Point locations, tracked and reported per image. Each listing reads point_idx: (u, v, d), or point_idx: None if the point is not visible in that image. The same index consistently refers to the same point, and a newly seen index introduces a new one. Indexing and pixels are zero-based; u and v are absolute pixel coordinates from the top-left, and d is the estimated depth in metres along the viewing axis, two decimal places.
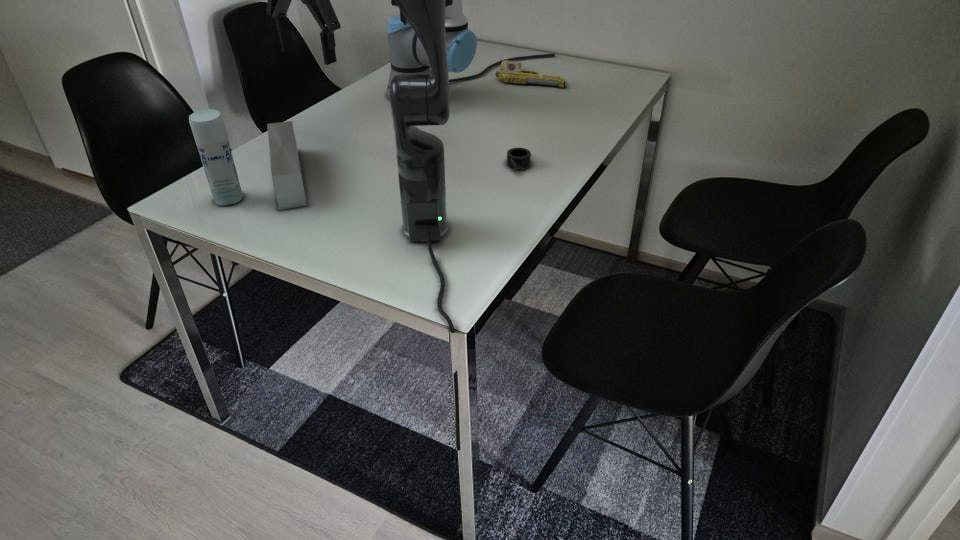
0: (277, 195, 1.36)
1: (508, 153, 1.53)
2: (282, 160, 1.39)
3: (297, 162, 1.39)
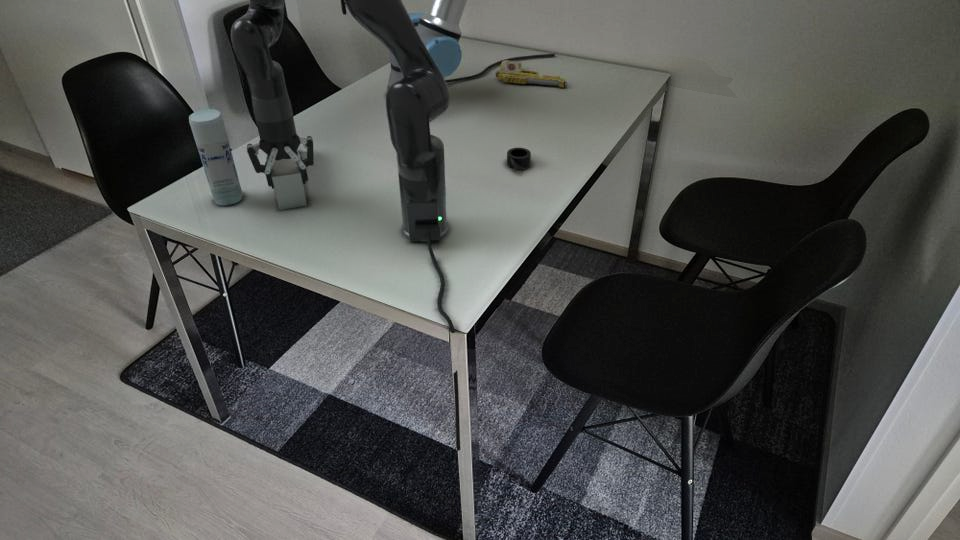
0: (277, 195, 1.36)
1: (508, 153, 1.53)
2: (282, 160, 1.39)
3: None
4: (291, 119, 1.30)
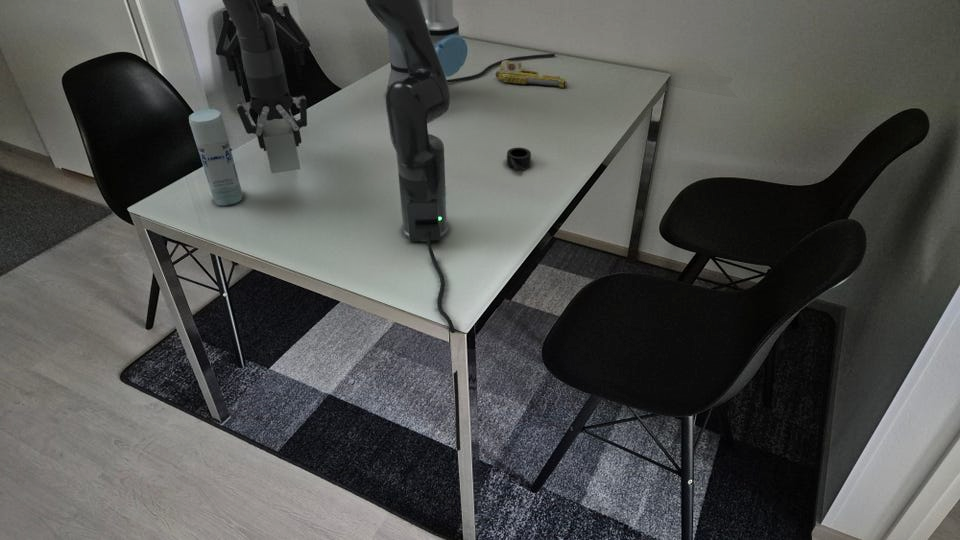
0: (269, 157, 1.31)
1: (508, 153, 1.53)
2: (275, 122, 1.34)
3: None
4: (283, 75, 1.24)
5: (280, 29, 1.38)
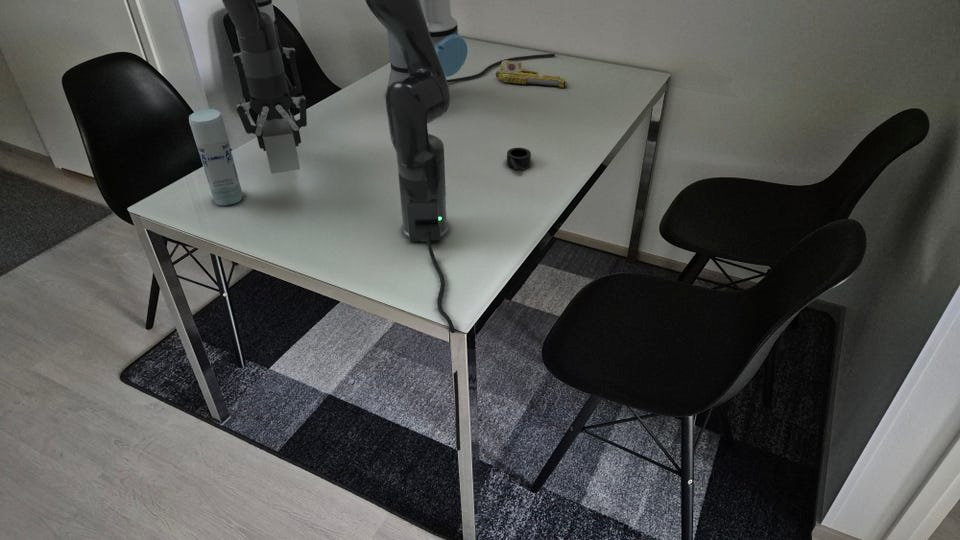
0: (269, 157, 1.31)
1: (508, 153, 1.53)
2: (274, 122, 1.34)
3: None
4: (282, 75, 1.24)
5: None
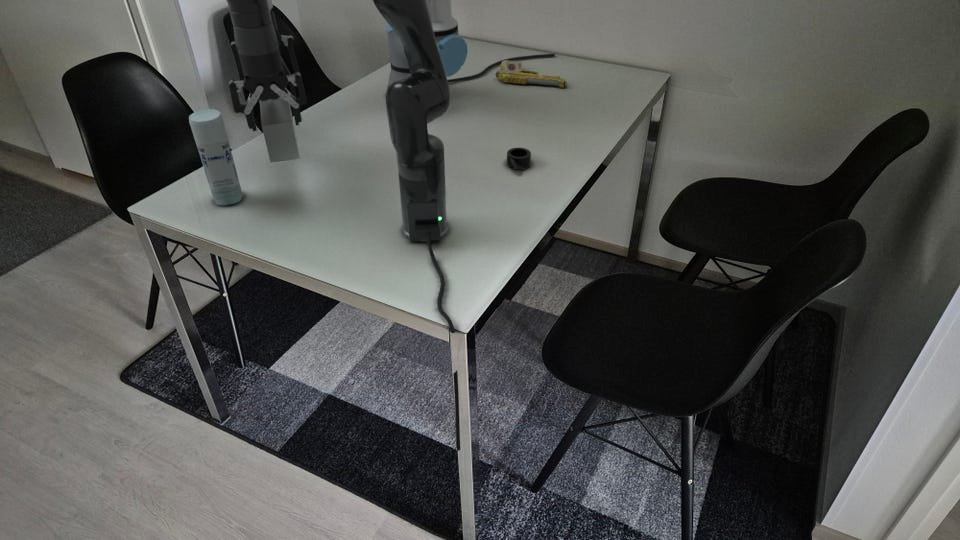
0: (268, 146, 1.29)
1: (508, 153, 1.53)
2: (273, 110, 1.32)
3: (288, 112, 1.32)
4: (277, 53, 1.20)
5: None
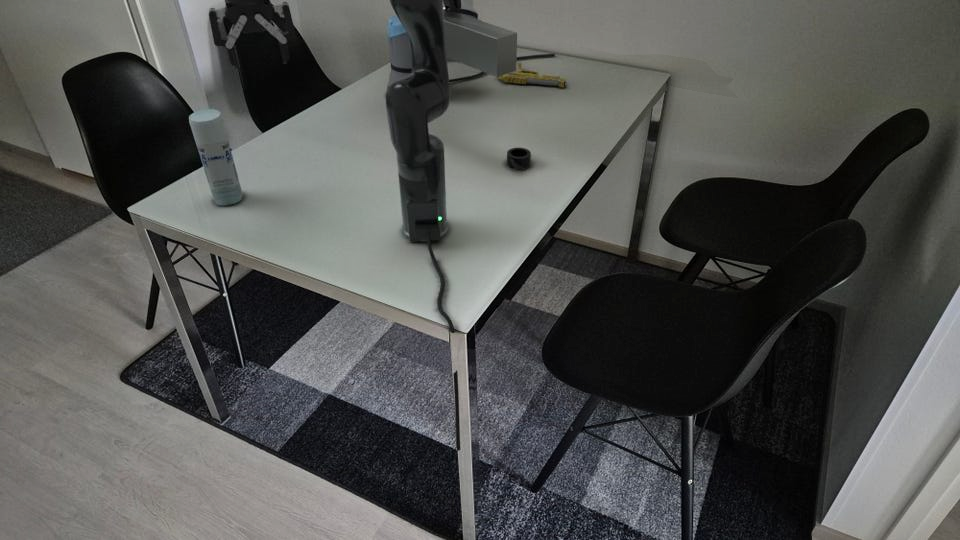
0: (498, 60, 1.35)
1: (508, 153, 1.53)
2: (484, 28, 1.37)
3: (500, 27, 1.38)
4: None
5: None
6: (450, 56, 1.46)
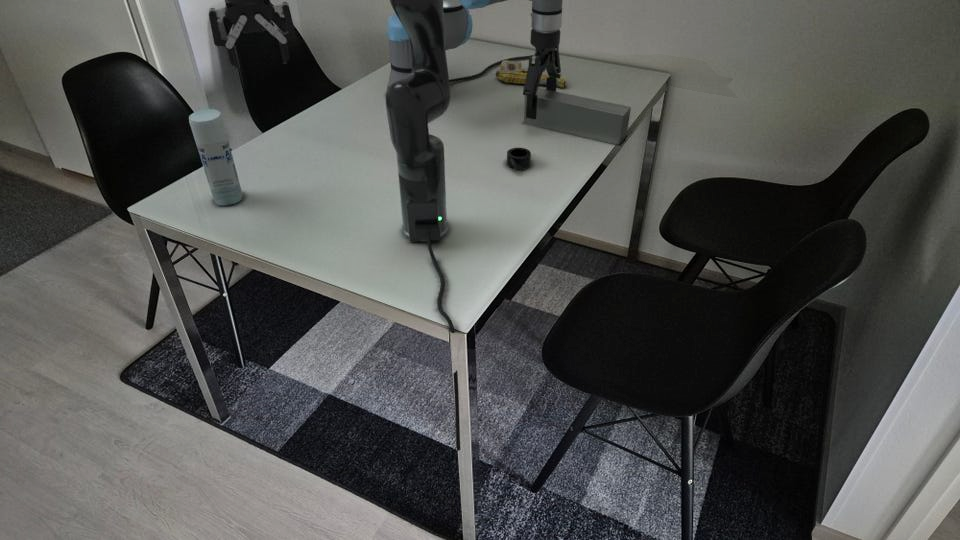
0: (621, 131, 1.61)
1: (508, 153, 1.53)
2: (601, 106, 1.63)
3: (612, 103, 1.64)
4: None
5: (553, 62, 1.67)
6: (563, 130, 1.69)
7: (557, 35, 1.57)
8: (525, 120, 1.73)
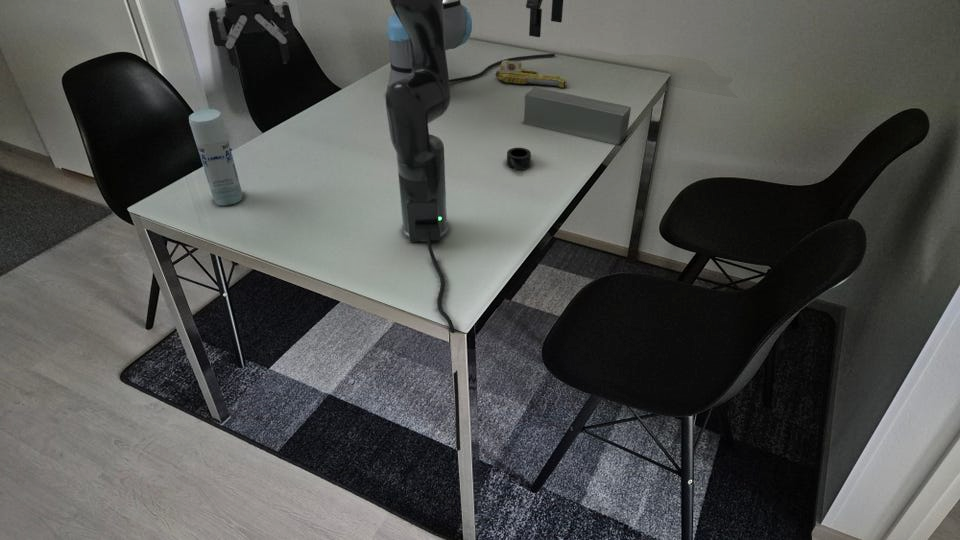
0: (621, 131, 1.61)
1: (508, 153, 1.53)
2: (601, 106, 1.63)
3: (612, 103, 1.64)
4: None
5: None
6: (563, 130, 1.69)
7: None
8: (525, 120, 1.73)
